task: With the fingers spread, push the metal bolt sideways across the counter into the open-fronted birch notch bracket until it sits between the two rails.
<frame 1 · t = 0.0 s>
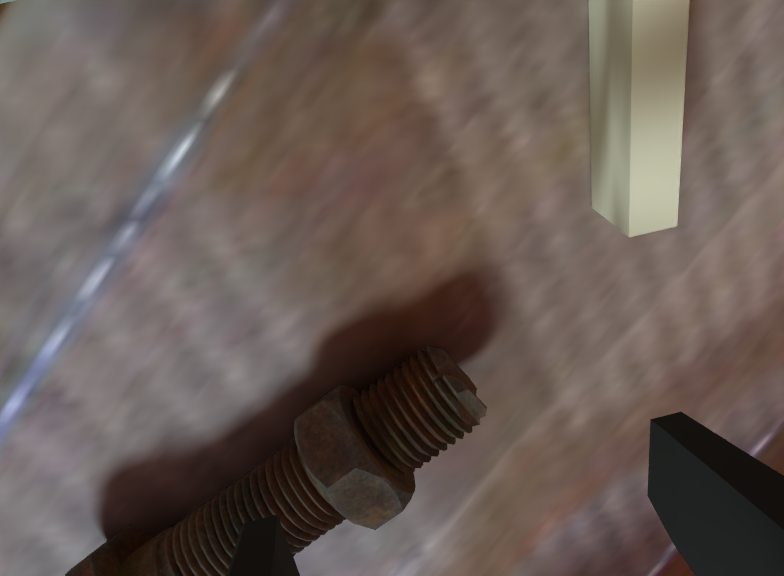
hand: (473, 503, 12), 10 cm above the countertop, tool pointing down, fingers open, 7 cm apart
notch bracket: (183, 152, 18), on the countertop
bolt: (286, 454, 24), on the countertop
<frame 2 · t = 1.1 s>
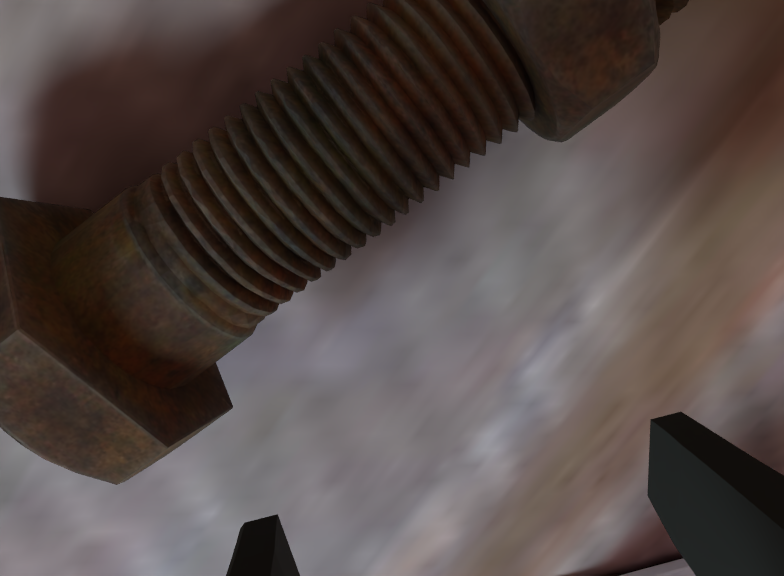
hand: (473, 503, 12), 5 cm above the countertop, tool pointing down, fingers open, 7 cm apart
bolt: (370, 92, 14), on the countertop
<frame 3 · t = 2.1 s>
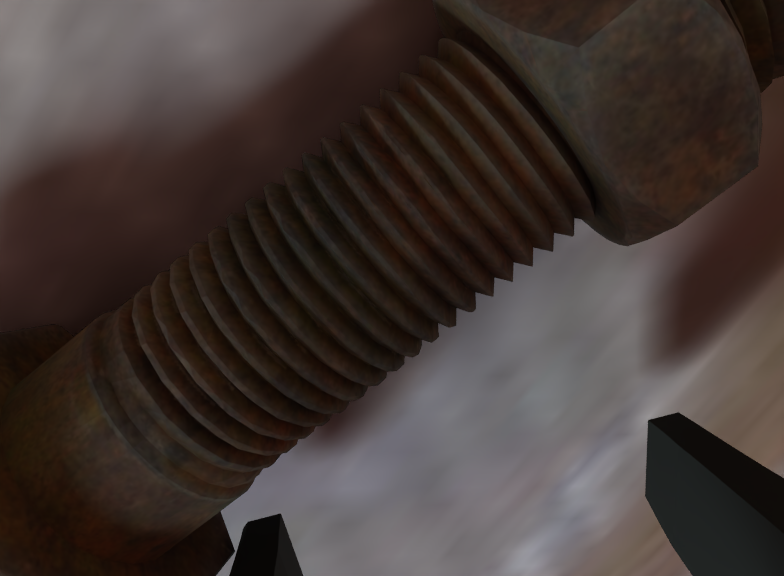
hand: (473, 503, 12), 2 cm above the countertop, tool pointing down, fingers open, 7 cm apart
bolt: (383, 171, 11), on the countertop, touching gripper
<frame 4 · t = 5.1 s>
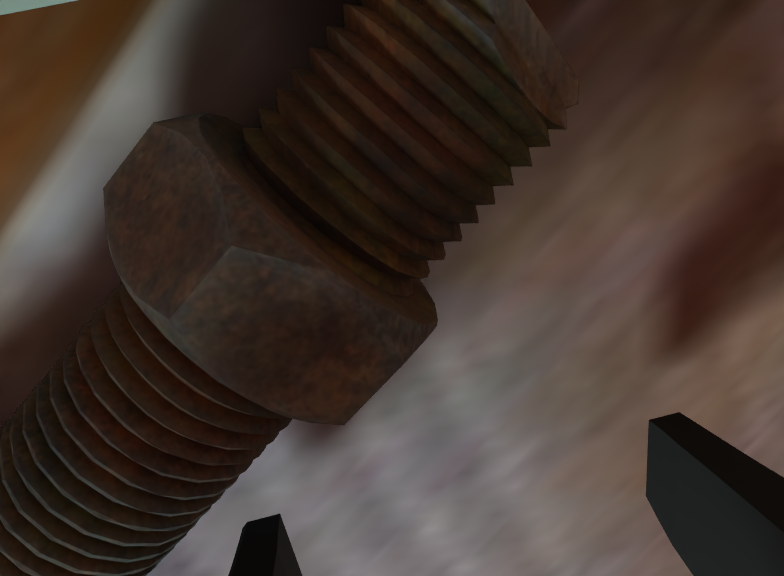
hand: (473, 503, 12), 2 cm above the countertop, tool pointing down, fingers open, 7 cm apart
notch bracket: (413, 224, 11), on the countertop
bolt: (183, 328, 12), on the countertop, touching gripper, notch bracket
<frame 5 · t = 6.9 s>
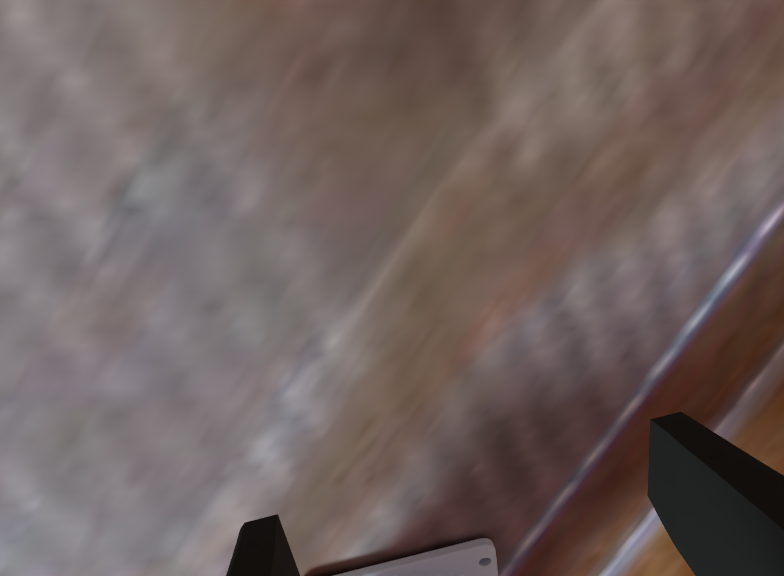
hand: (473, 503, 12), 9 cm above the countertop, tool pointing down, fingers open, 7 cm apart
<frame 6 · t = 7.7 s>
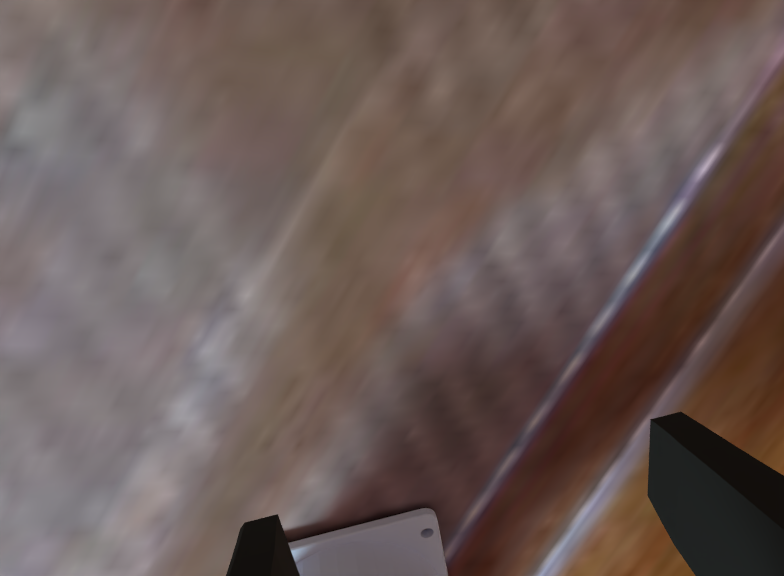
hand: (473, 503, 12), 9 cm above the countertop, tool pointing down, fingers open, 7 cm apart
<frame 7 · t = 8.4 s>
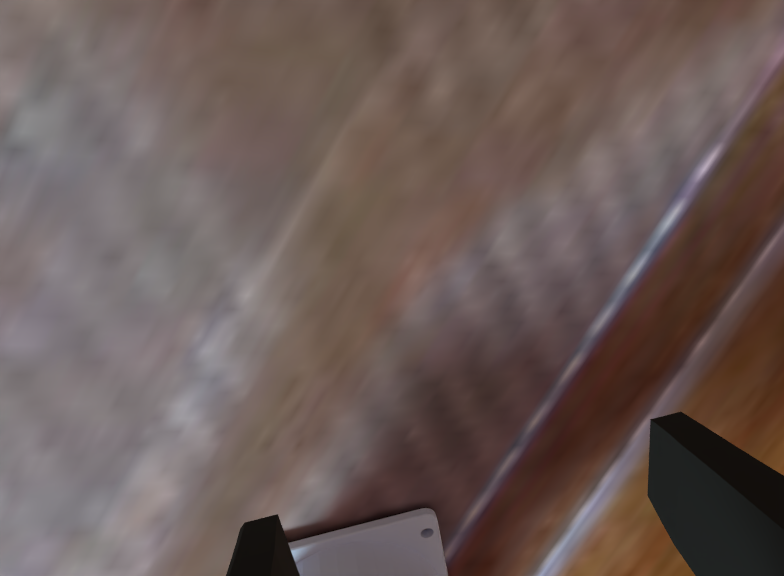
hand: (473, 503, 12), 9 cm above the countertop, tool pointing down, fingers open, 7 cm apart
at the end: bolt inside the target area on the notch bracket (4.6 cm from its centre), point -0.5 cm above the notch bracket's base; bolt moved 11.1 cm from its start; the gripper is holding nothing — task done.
